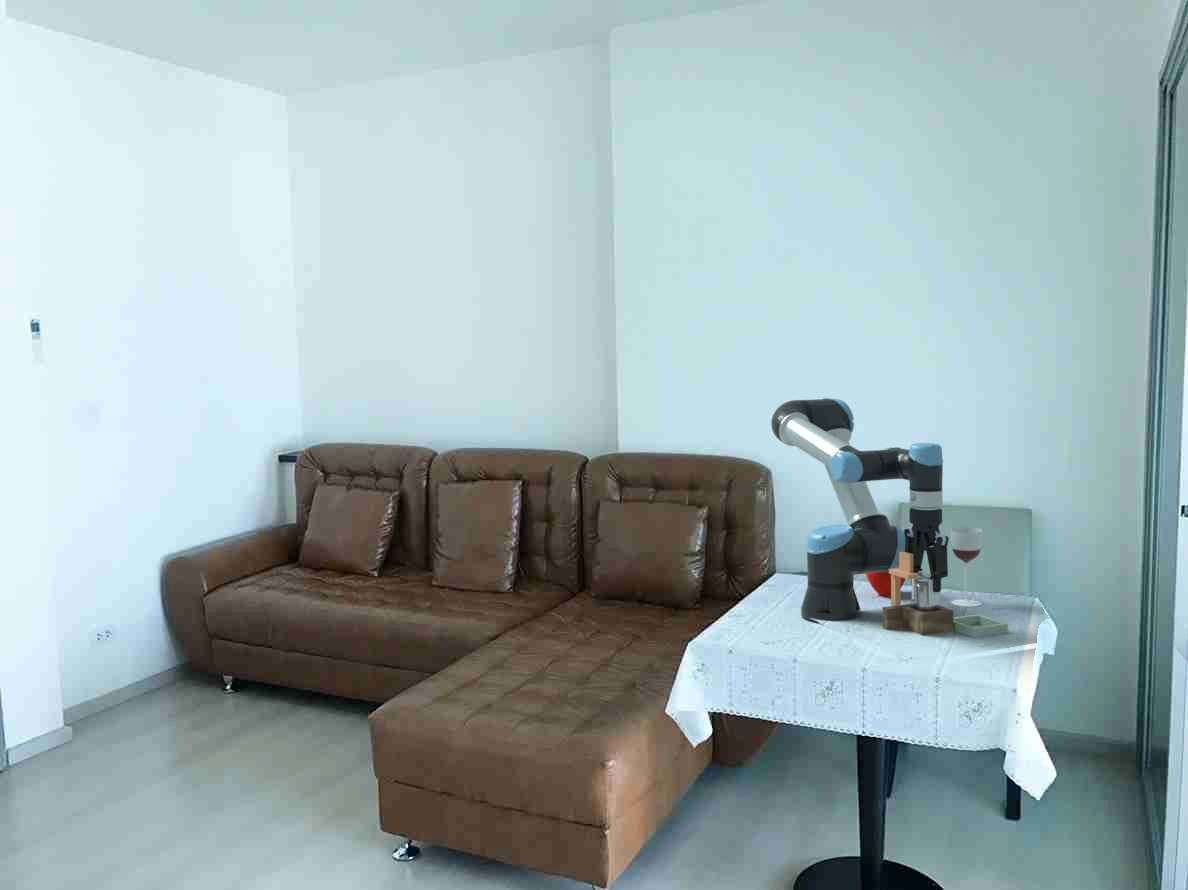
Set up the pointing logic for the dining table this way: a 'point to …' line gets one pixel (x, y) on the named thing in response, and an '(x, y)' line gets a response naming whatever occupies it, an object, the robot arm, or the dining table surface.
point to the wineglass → (966, 554)
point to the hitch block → (918, 619)
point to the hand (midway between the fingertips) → (925, 601)
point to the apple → (882, 582)
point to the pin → (923, 593)
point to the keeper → (904, 572)
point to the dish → (987, 629)
